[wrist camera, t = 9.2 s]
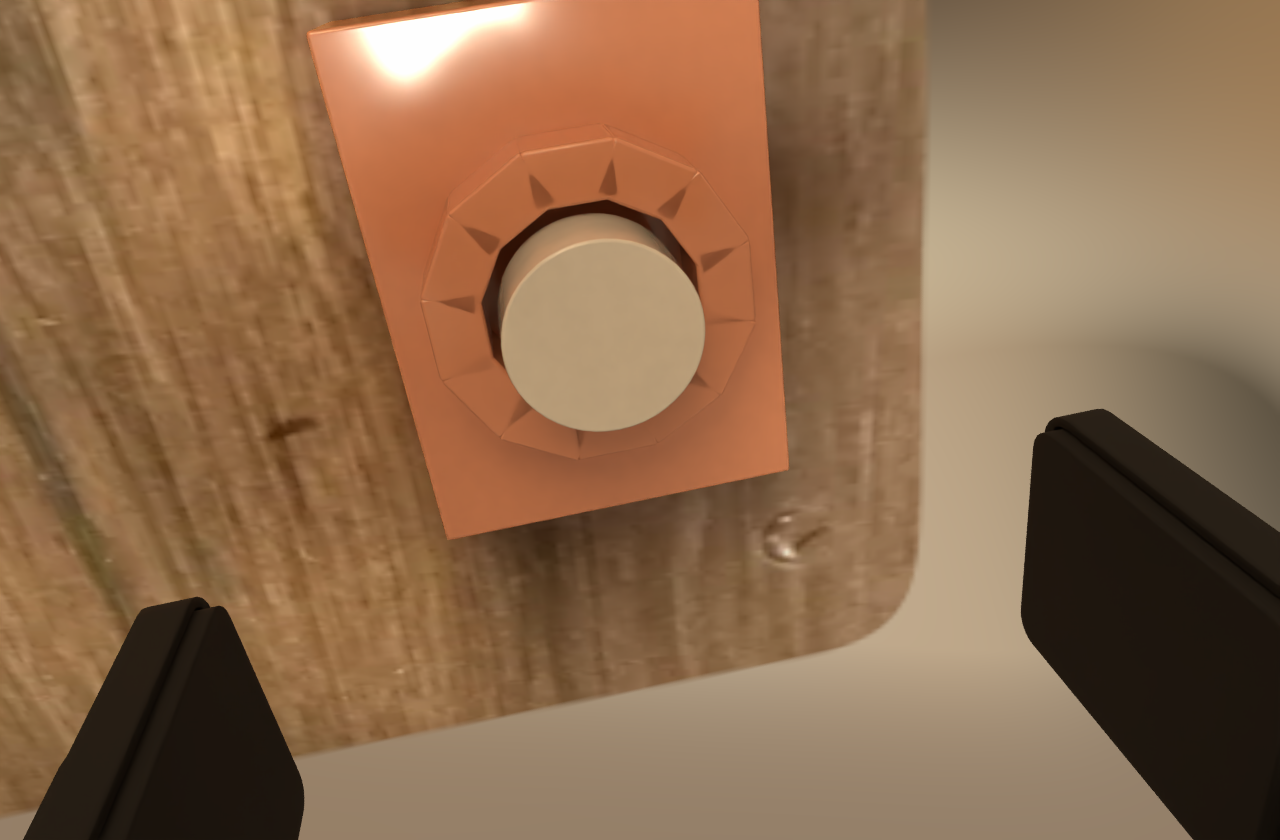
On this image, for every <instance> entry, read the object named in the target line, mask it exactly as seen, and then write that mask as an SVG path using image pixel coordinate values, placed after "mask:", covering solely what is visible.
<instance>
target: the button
mask: <svg viewBox="0 0 1280 840" xmlns="http://www.w3.org/2000/svg"><path fill="white" fill-rule="evenodd" d="M498 321H499V332H500V342H501V350H502V357H503V361H504V365H505V368H506V371H507V374H508V376H509V378H510V380H511V382H512V384H513V385H514V387H515V389H516V390H517V392H518V393H519V394H520V396H521V397H522V398H523V399H524V400H525V401H526V403H528V404H529V405H530V406H531V407H532V408H533V409H534V410H535V411H537V412H538V413H540V414H541V415H543V416H544V417H546V418H548V419H550V420H551V421H553V422H555V423H558V424H560V425H563V426H566V427H569V428H573V429H577V430H582V431H592V432H607V431H614V430H621V429H625V428H628V427H632V426H635V425H637V424H640V423H643V422H645V421H647V420H649V419H650V418H652V417H654V416H656V415H657V414H659V413H660V412H662V411H663V410H665V409H666V408H667V407H668V406H669V405H671V404H672V403H673V402H674V401H675V400H676V399H677V398H678V397H679V396H680V395H681V394H682V392H683V391H684V390H685V388H686V387H687V386H688V384H689V383H690V381H691V380H692V378H693V376H694V374H695V372H696V370H697V368H698V365H699V363H700V360H701V357H702V353H703V349H704V344H705V334H706V332H705V317H704V312H703V307H702V304H701V301H700V298H699V295H698V293H697V291H696V289H695V287H694V285H693V284H692V282H691V281H690V279H689V278H688V276H687V275H686V273H685V272H684V271H683V269H682V268H681V266H680V265H679V264H678V262H677V261H676V259H675V258H674V257H673V255H672V254H671V252H670V251H669V249H668V248H667V247H666V246H665V245H664V243H663V242H662V241H661V240H660V239H659V238H658V237H657V236H656V235H654V234H653V233H652V232H651V231H650V230H648V229H646V228H645V227H643V226H642V225H640V224H638V223H636V222H634V221H631V220H629V219H627V218H623V217H620V216H616V215H611V214H604V213H586V214H577V215H573V216H569V217H565V218H562V219H560V220H557V221H555V222H552V223H550V224H549V225H547V226H545V227H543V228H541V229H540V230H539V231H537V232H536V233H534V234H533V235H532V236H531V237H529V238H528V239H527V240H526V241H525V242H524V243H523V244H522V245H521V246H520V248H519V249H518V250H517V251H516V253H515V254H514V255H513V257H512V259H511V260H510V262H509V264H508V265H507V267H506V270H505V272H504V274H503V277H502V280H501V284H500V287H499V294H498Z"/></svg>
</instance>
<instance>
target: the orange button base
mask: <svg viewBox="0 0 1280 840" xmlns="http://www.w3.org/2000/svg"><path fill="white" fill-rule="evenodd" d="M306 37H307V41H308V44H309V48H310V51H311V55H312V58H313V62H314V66H315V69H316V73H317V76H318V80H319V84H320V87H321V91H322V94H323V98H324V101H325V105H326V109H327V112H328V116H329V119H330V123H331V126H332V130H333V134H334V137H335V141H336V144H337V148H338V151H339V155H340V159H341V162H342V166H343V169H344V173H345V176H346V180H347V184H348V187H349V191H350V194H351V198H352V201H353V205H354V209H355V212H356V216H357V219H358V223H359V226H360V230H361V234H362V237H363V241H364V244H365V248H366V252H367V255H368V259H369V262H370V266H371V269H372V273H373V277H374V280H375V284H376V287H377V291H378V294H379V298H380V302H381V305H382V309H383V312H384V316H385V319H386V323H387V327H388V330H389V334H390V337H391V341H392V344H393V348H394V352H395V355H396V359H397V362H398V366H399V369H400V373H401V377H402V380H403V384H404V387H405V391H406V395H407V398H408V402H409V405H410V409H411V412H412V416H413V420H414V423H415V427H416V430H417V434H418V437H419V441H420V445H421V448H422V452H423V455H424V459H425V462H426V466H427V470H428V473H429V477H430V480H431V484H432V487H433V491H434V495H435V498H436V502H437V505H438V509H439V512H440V516H441V520H442V523H443V527H444V530H445V534H446V537H447V539H448V540H452V539H457V538H462V537H467V536H472V535H477V534H481V533H486V532H491V531H496V530H501V529H506V528H510V527H515V526H520V525H525V524H530V523H535V522H540V521H544V520H549V519H554V518H559V517H564V516H569V515H573V514H578V513H583V512H588V511H593V510H598V509H602V508H607V507H612V506H617V505H622V504H627V503H631V502H636V501H641V500H646V499H651V498H656V497H661V496H665V495H670V494H675V493H680V492H685V491H690V490H694V489H699V488H704V487H709V486H714V485H719V484H723V483H728V482H733V481H738V480H743V479H748V478H752V477H757V476H762V475H767V474H772V473H777V472H781V471H786V470H788V469H789V455H788V440H787V424H786V409H785V394H784V378H783V363H782V348H781V332H780V317H779V302H778V286H777V271H776V256H775V240H774V225H773V210H772V195H771V179H770V164H769V149H768V133H767V118H766V103H765V87H764V72H763V57H762V41H761V26H760V11H759V0H467V1H461V2H454V3H448V4H441V5H435V6H428V7H422V8H415V9H409V10H402V11H395V12H389V13H382V14H376V15H369V16H363V17H356V18H350V19H343V20H337V21H330V22H328V23H326V24H323V25H321V26H319V27H317V28H315V29H313V30H310V31H309V32H307V35H306ZM586 213H604V214H611V215H616V216H620V217H623V218H627V219H629V220H631V221H634V222H636V223H638V224H640V225H642V226H643V227H645V228H646V229H648V230H650V231H651V232H652V233H653V234H654V235H656V236H657V237H658V238H659V239H660V240H661V241H662V242H663V243H664V245H665V246H666V247H667V248H668V249H669V251H670V252H671V254H672V255H673V257H674V258H675V259H676V261H677V262H678V264H679V265H680V266H681V268H682V269H683V271H684V272H685V273H686V275H687V276H688V278H689V279H690V281H691V282H692V284H693V285H694V287H695V289H696V291H697V293H698V295H699V298H700V301H701V304H702V307H703V312H704V317H705V332H706V334H705V344H704V349H703V353H702V357H701V360H700V363H699V365H698V368H697V370H696V372H695V374H694V376H693V378H692V380H691V381H690V383H689V384H688V386H687V387H686V388H685V390H684V391H683V392H682V394H681V395H680V396H679V397H678V398H677V399H676V400H675V401H674V402H673V403H672V404H671V405H669V406H668V407H667V408H666V409H665V410H663V411H662V412H660V413H659V414H657V415H656V416H654V417H652V418H650V419H649V420H647V421H645V422H643V423H640V424H637V425H635V426H632V427H628V428H625V429H621V430H614V431H607V432H592V431H582V430H577V429H573V428H569V427H566V426H563V425H560V424H558V423H555V422H553V421H551V420H550V419H548V418H546V417H544V416H543V415H541V414H540V413H538V412H537V411H535V410H534V409H533V408H532V407H531V406H530V405H529V404H528V403H526V401H525V400H524V399H523V398H522V397H521V396H520V394H519V393H518V392H517V390H516V389H515V387H514V385H513V384H512V382H511V380H510V378H509V376H508V374H507V371H506V368H505V365H504V361H503V357H502V350H501V342H500V332H499V321H498V294H499V287H500V284H501V280H502V277H503V274H504V272H505V270H506V267H507V265H508V264H509V262H510V260H511V259H512V257H513V255H514V254H515V253H516V251H517V250H518V249H519V248H520V246H521V245H522V244H523V243H524V242H525V241H526V240H527V239H528V238H529V237H531V236H532V235H533V234H534V233H536V232H537V231H539V230H540V229H541V228H543V227H545V226H547V225H549V224H550V223H552V222H555V221H557V220H560V219H562V218H565V217H569V216H573V215H577V214H586Z"/></svg>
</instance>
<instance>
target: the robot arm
mask: <svg viewBox="0 0 1280 840" xmlns="http://www.w3.org/2000/svg"><path fill="white" fill-rule="evenodd" d="M1026 537H1027V538H1026V550H1025V563H1024V576H1023V590H1022V602H1021V618H1022V623H1023V626H1024V629H1025V632H1026V634H1027V636H1028V638H1029V640H1030V641H1031V642H1032V644H1033V645H1034V646H1035V648H1036V649H1037V650H1038V651H1039V652H1040V654H1041V655H1042V656H1043V657H1044V659H1045V660H1046V661H1047V662H1048V663H1049V665H1050V666H1051V667H1052V668H1053V669H1054V671H1055V672H1056V673H1057V674H1058V676H1059V677H1060V678H1061V679H1062V680H1063V682H1064V683H1065V684H1066V685H1067V686H1068V688H1069V689H1070V690H1071V691H1072V693H1073V694H1074V695H1075V696H1076V697H1077V699H1078V700H1079V701H1080V702H1081V703H1082V705H1083V706H1084V707H1085V708H1086V710H1087V711H1088V712H1089V713H1090V714H1091V716H1092V717H1093V718H1094V719H1095V720H1096V722H1097V723H1098V724H1099V725H1100V727H1101V728H1102V729H1103V730H1104V731H1105V733H1106V734H1107V735H1108V736H1109V738H1110V739H1111V740H1112V741H1113V742H1114V744H1115V745H1116V746H1117V747H1118V749H1119V750H1120V751H1121V752H1122V753H1123V755H1124V756H1125V757H1126V758H1127V760H1128V761H1129V762H1130V763H1131V764H1132V766H1133V767H1134V768H1135V769H1136V770H1137V772H1138V773H1139V774H1140V775H1141V777H1142V778H1143V779H1144V780H1145V781H1146V783H1147V784H1148V785H1149V786H1150V787H1151V789H1152V790H1153V791H1154V792H1155V794H1156V795H1157V796H1158V797H1159V798H1160V800H1161V801H1162V802H1163V803H1164V804H1165V806H1166V807H1167V808H1168V809H1169V811H1170V812H1171V813H1172V814H1173V815H1174V817H1175V818H1176V819H1177V820H1178V822H1179V823H1180V824H1181V825H1182V826H1183V828H1184V829H1185V830H1186V831H1187V833H1188V834H1189V835H1190V836H1191V837H1192V839H1193V840H1280V532H1278V531H1277V530H1275V529H1274V528H1272V527H1271V526H1270V525H1268V524H1267V523H1265V522H1264V521H1263V520H1261V519H1260V518H1259V517H1257V516H1256V515H1254V514H1253V513H1252V512H1250V511H1248V510H1247V509H1246V508H1245V507H1243V506H1242V505H1240V504H1239V503H1237V502H1236V501H1235V500H1233V499H1232V498H1230V497H1229V496H1228V495H1226V494H1225V493H1223V492H1222V491H1220V490H1219V489H1218V488H1216V487H1215V486H1214V485H1212V484H1211V483H1209V482H1208V481H1206V480H1205V479H1204V478H1202V477H1201V476H1199V475H1198V474H1197V473H1195V472H1194V471H1192V470H1191V469H1189V468H1188V467H1187V466H1185V465H1184V464H1182V463H1181V462H1180V461H1178V460H1177V459H1175V458H1174V457H1173V456H1171V455H1170V454H1168V453H1167V452H1166V451H1164V450H1163V449H1161V448H1160V447H1159V446H1157V445H1156V444H1154V443H1153V442H1151V441H1150V440H1149V439H1147V438H1146V437H1145V436H1143V435H1142V434H1140V433H1139V432H1137V431H1136V430H1135V429H1133V428H1132V427H1130V426H1129V425H1128V424H1126V423H1125V422H1123V421H1122V420H1120V419H1119V418H1118V417H1116V416H1115V415H1114V414H1112V413H1111V412H1109V411H1106V410H1104V409H1095V410H1090V411H1085V412H1080V413H1076V414H1071V415H1066V416H1061V417H1056V418H1054V419H1052V420H1051V421H1049V423H1048V425H1047V426H1046V429H1045V433H1041V434H1039V435H1037V437H1036V439H1035V441H1034V446H1033V458H1032V470H1031V484H1030V499H1029V510H1028V523H1027V536H1026ZM303 811H304V789H303V784H302V779H301V776H300V774H299V771H298V769H297V767H296V764H295V762H294V760H293V757H292V755H291V753H290V751H289V748H288V746H287V744H286V742H285V739H284V737H283V735H282V733H281V730H280V728H279V726H278V724H277V721H276V719H275V717H274V715H273V712H272V710H271V708H270V706H269V703H268V701H267V699H266V697H265V694H264V692H263V690H262V688H261V685H260V683H259V681H258V679H257V676H256V674H255V672H254V670H253V667H252V665H251V663H250V660H249V658H248V656H247V654H246V651H245V649H244V647H243V645H242V642H241V640H240V638H239V636H238V633H237V631H236V629H235V627H234V624H233V622H232V620H231V618H230V616H229V614H228V612H227V610H226V609H225V608H224V607H222V606H216V607H211V608H210V606H209V604H208V603H207V602H206V601H205V600H204V599H203V598H200V597H194V598H189V599H184V600H180V601H175V602H170V603H165V604H160V605H156V606H151V607H147V608H144V609H142V610H141V611H140V613H139V614H138V615H137V617H136V619H135V621H134V623H133V625H132V627H131V629H130V631H129V633H128V635H127V637H126V639H125V641H124V643H123V645H122V647H121V649H120V651H119V653H118V655H117V657H116V659H115V661H114V663H113V665H112V667H111V669H110V671H109V673H108V675H107V677H106V679H105V681H104V683H103V685H102V687H101V689H100V691H99V693H98V695H97V697H96V699H95V701H94V703H93V705H92V707H91V709H90V711H89V713H88V715H87V717H86V719H85V721H84V723H83V725H82V727H81V729H80V731H79V733H78V735H77V737H76V739H75V741H74V743H73V745H72V747H71V749H70V751H69V753H68V755H67V757H66V758H65V760H64V761H63V763H62V764H61V766H60V767H59V769H58V771H57V773H56V775H55V777H54V779H53V781H52V783H51V785H50V787H49V789H48V791H47V793H46V795H45V797H44V799H43V801H42V803H41V805H40V807H39V809H38V811H37V813H36V815H35V817H34V819H33V821H32V823H31V825H30V827H29V829H28V831H27V833H26V835H25V837H24V839H23V840H298V837H299V832H300V827H301V822H302V816H303Z"/></svg>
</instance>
